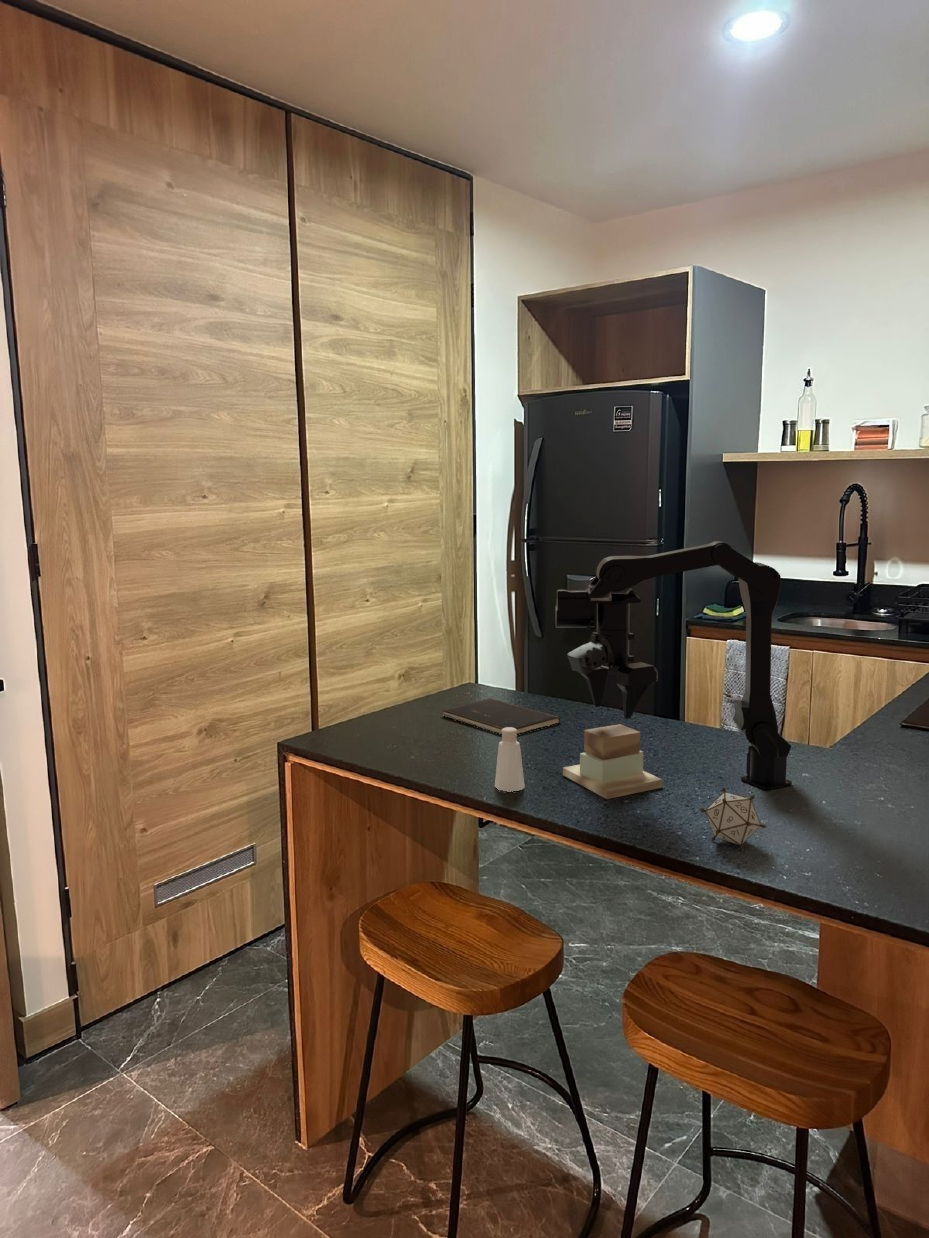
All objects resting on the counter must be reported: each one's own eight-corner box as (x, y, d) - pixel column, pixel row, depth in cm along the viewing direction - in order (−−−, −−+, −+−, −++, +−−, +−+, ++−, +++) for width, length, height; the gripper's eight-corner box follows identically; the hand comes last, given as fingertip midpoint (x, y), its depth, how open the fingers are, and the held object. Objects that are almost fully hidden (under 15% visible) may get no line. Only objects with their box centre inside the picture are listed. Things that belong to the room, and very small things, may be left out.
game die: (743, 865, 133) (787, 819, 130) (717, 862, 127) (763, 814, 124) (705, 821, 139) (747, 776, 136) (678, 817, 133) (721, 770, 130)
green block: (642, 772, 160) (643, 751, 159) (602, 783, 154) (602, 761, 154) (619, 763, 165) (620, 743, 164) (579, 774, 159) (580, 753, 159)
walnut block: (639, 753, 158) (640, 732, 158) (603, 760, 155) (603, 738, 154) (619, 744, 164) (620, 724, 163) (584, 751, 160) (584, 730, 159)
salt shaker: (488, 787, 158) (487, 728, 156) (510, 780, 161) (510, 722, 159) (508, 795, 154) (508, 735, 152) (530, 788, 157) (530, 729, 155)
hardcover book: (508, 740, 188) (508, 730, 187) (441, 719, 205) (441, 709, 205) (560, 725, 198) (560, 716, 197) (492, 706, 215) (492, 697, 215)
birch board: (661, 787, 156) (662, 779, 156) (606, 799, 151) (606, 790, 151) (615, 765, 169) (615, 757, 168) (562, 775, 164) (563, 767, 163)
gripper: (546, 624, 160) (546, 706, 163) (606, 640, 144) (605, 731, 146) (597, 618, 165) (596, 699, 167) (660, 634, 148) (658, 722, 151)
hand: (612, 712), depth 158 cm, fingers open, 9 cm apart
